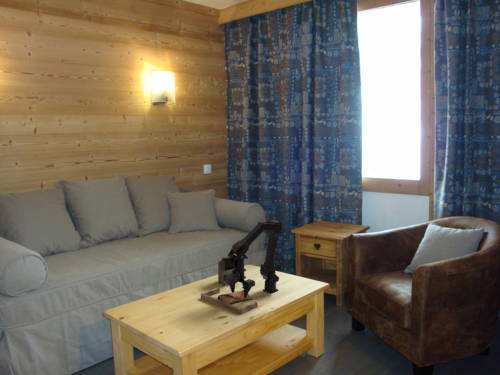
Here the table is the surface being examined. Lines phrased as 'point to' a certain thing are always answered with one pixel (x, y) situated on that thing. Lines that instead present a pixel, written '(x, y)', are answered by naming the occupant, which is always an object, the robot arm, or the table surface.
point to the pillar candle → (222, 274)
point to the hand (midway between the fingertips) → (239, 295)
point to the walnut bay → (225, 305)
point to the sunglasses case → (234, 297)
